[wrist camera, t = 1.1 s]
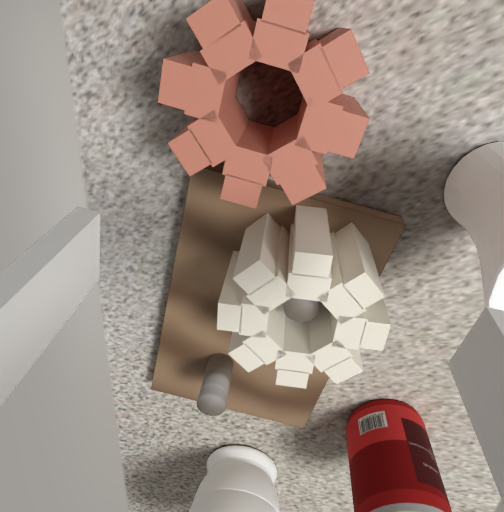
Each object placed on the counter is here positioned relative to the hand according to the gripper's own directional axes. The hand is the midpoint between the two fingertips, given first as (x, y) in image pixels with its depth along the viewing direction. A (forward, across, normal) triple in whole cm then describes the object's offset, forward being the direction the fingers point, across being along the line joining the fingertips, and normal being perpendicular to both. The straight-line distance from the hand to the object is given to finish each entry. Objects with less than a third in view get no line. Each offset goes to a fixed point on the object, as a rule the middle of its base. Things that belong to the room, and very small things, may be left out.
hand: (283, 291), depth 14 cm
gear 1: (+18, -3, +3) cm, 18 cm away
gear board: (+18, +1, -15) cm, 23 cm away
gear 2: (+16, +3, -9) cm, 19 cm away
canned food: (+18, +16, -26) cm, 35 cm away
